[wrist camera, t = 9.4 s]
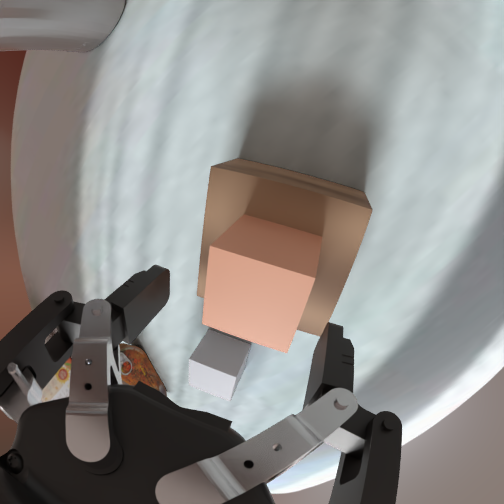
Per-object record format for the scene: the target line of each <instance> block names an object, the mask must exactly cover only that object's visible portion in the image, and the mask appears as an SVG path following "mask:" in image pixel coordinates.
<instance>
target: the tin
mask: <svg viewBox="0 0 504 504" xmlns="http://www.w3.org/2000/svg"><path fill="white" fill-rule="evenodd" d="M119 346H120V367H121V379H122V384H128V385H134V386H135V385H136V384H137V382H138V381H141V382H143V383H145V384H147V385H148V386H150V387H152V388H154V389H156V390H158V391H160V392H161V393H163V394H164V395H165V396H166V397H167V394H166V389H165V386H164V384H163V383H162V381H161V379H160V378H159V376H158V374H157V373H156V371H155V369H154V368H153V366H152V364H151V362H150V360H149V358H148V357H147V355H146V353H145V352H144V351H143V350H142V349H141V348H139V347H137V346H133V345H129V344H124V343H121V344H119Z"/></svg>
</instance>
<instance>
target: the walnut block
mask: <svg viewBox="0 0 504 504" xmlns="http://www.w3.org/2000/svg"><path fill="white" fill-rule="evenodd" d="M371 213H372V208H371V206H370V203H369V201H368V199H367V197H366V195H365V193H364V192H362V191H359V190H356V189H353V188H350V187H347V186H344V185H340V184H337V183H334V182H330V181H327V180H324V179H320V178H317V177H313V176H309V175H306V174H302V173H298V172H294V171H291V170H287V169H283V168H279V167H275V166H270V165H266V164H262V163H258V162H253V161H249V160H244V159H239V158H237V159H234V160H231V161H227V162H224V163H221V164H217V165H214V166H211V170H210V177H209V184H208V192H207V200H206V208H205V217H204V225H203V234H202V244H201V254H200V265H199V276H198V288H197V296H200V297H202V298H204V296H205V286H206V276H207V267H208V257H209V248H210V245H211V244H212V243H213V242H214V241H215V240H216V239H218V238H219V237H220V236H221V235H222V234H223V233H224V232H225V231H226V230H227V229H228V228H229V227H231V226H232V225H233V224H234V223H235V222H236V221H237V220H238V219H239V218H240V217H241V216H243V215H244V214H245V215H249V216H252V217H256V218H259V219H263V220H267V221H270V222H274V223H277V224H281V225H284V226H288V227H291V228H295V229H298V230H301V231H305V232H308V233H311V234H315V235H318V236H321V237H322V243H321V249H320V255H319V261H318V267H317V273H316V278H315V281H314V284H313V287H312V290H311V292H310V295H309V298H308V301H307V303H306V306H305V309H304V311H303V314H302V317H301V319H300V322H299V324H298V327H297V330H300V331H303V332H307V333H310V334H313V335H317V336H320V337H321V335H322V333H323V330H324V328H325V326H326V324H327V323H328V322H329V319H330V317H331V315H332V313H333V311H334V308H335V306H336V304H337V302H338V299H339V297H340V295H341V292H342V290H343V288H344V285H345V283H346V280H347V278H348V276H349V273H350V271H351V268H352V266H353V263H354V260H355V258H356V255H357V253H358V250H359V247H360V245H361V242H362V239H363V236H364V234H365V231H366V228H367V225H368V222H369V219H370V216H371Z"/></svg>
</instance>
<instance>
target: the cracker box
mask: <svg viewBox="0 0 504 504" xmlns="http://www.w3.org/2000/svg"><path fill="white" fill-rule="evenodd" d="M71 361H72V360H71V358H69V359H68V360H67V361H66V362H65V364H64V365H63V366H62V367H61V368H60V369H59V371H58V372H57V373H56V374H55V375H54V377H53V378H52V379H51V380H50V381H49V383H48V384H47V385H46V386H45V388H44V389H43V390H42V398H41V400H42V402H47V401H52V400H56V399H60V398H65V397H69V389H70V373H71Z"/></svg>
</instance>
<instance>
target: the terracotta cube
mask: <svg viewBox="0 0 504 504" xmlns="http://www.w3.org/2000/svg"><path fill="white" fill-rule="evenodd" d="M321 243H322V237H321V236H318V235H315V234H311V233H308V232H305V231H301V230H298V229H295V228H291V227H288V226H284V225H281V224H277V223H274V222H270V221H267V220H263V219H259V218H256V217H252V216H249V215H245V214H244V215H243V216H241V217H240V218H239V219H238V220H237V221H236V222H235V223H234V224H233V225H232V226H231V227H229V228H228V229H227V230H226V231H225V232H224V233H223V234H222V235H221V236H220V237H219V238H218V239H216V240H215V241H214V242H213V243H212V244H211V245H210V248H209V257H208V267H207V276H206V286H205V296H204V307H203V319H202V324H204V325H207V326H209V327H212V328H215V329H217V330H220V331H223V332H225V333H228V334H231V335H234V336H236V337H239V338H242V339H245V340H248V341H251V342H254V343H257V344H260V345H263V346H266V347H269V348H272V349H275V350H278V351H282V352H285V353H287V352H288V349H289V347H290V345H291V342H292V340H293V337H294V335H295V332H296V330H297V327H298V324H299V322H300V319H301V317H302V314H303V311H304V309H305V306H306V303H307V301H308V298H309V295H310V292H311V290H312V287H313V284H314V281H315V278H316V273H317V267H318V261H319V255H320V249H321Z"/></svg>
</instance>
